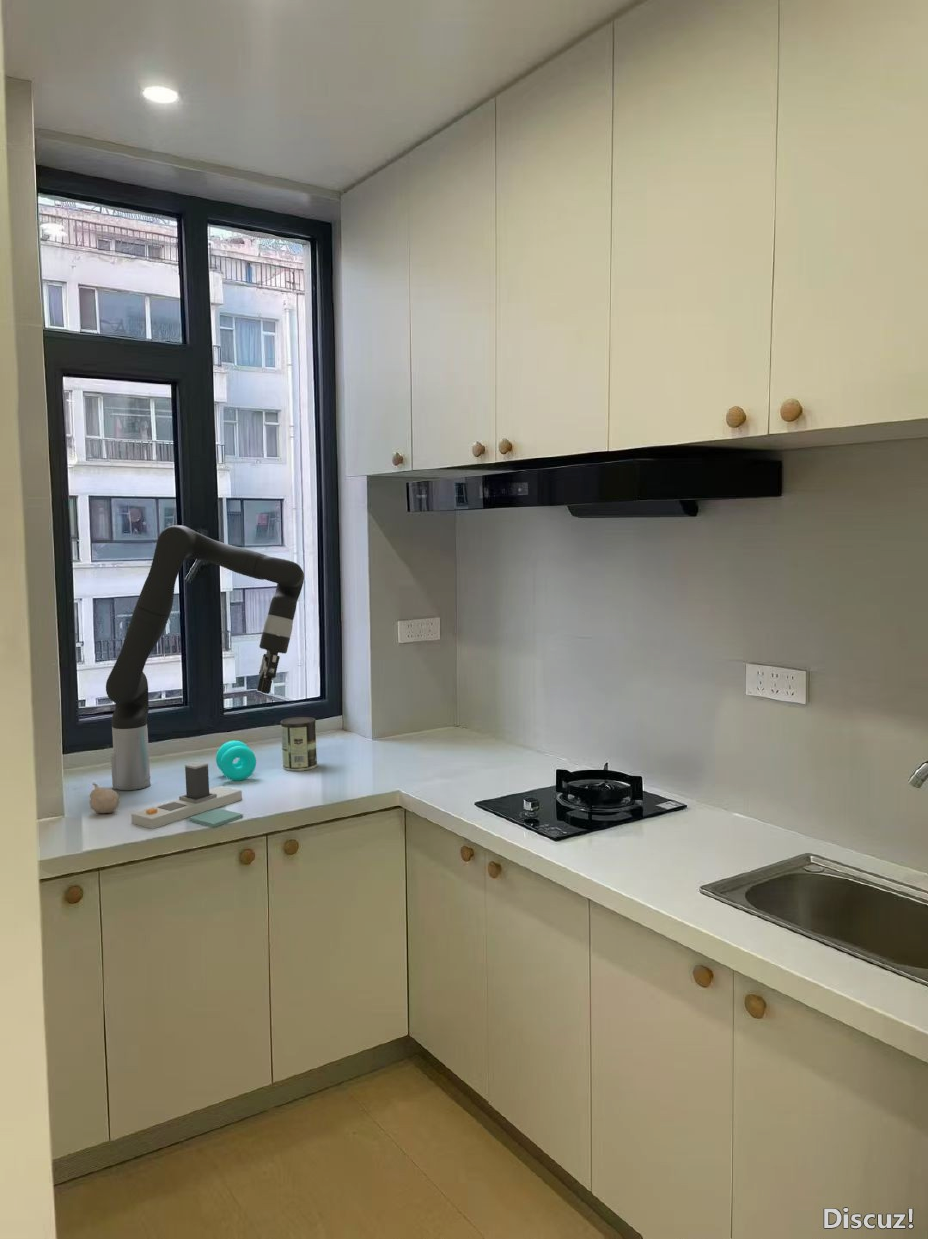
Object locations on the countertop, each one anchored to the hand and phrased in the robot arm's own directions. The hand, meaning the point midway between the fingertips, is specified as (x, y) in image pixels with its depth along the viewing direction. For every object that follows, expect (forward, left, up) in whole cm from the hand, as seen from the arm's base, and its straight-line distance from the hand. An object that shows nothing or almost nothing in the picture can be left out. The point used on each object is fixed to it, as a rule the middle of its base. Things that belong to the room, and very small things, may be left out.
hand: (262, 692), depth 254 cm
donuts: (-12, +13, -27) cm, 32 cm away
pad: (-7, -25, -27) cm, 38 cm away
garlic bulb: (-37, -19, -27) cm, 50 cm away
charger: (-14, -16, -24) cm, 32 cm away
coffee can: (+4, +24, -27) cm, 36 cm away
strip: (-16, -18, -27) cm, 36 cm away
